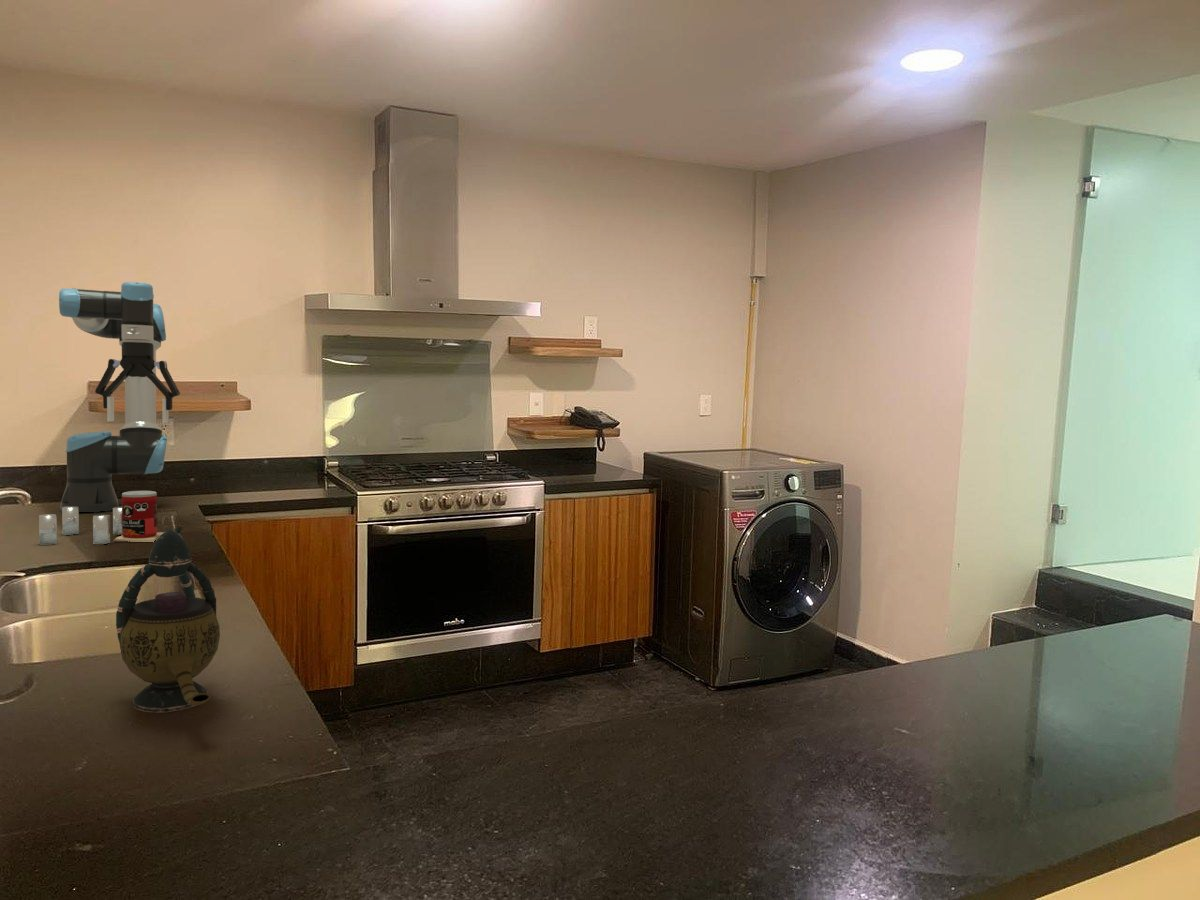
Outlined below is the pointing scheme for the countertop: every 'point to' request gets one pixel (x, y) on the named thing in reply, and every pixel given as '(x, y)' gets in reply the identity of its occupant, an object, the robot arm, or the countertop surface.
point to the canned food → (139, 514)
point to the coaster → (148, 539)
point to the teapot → (168, 630)
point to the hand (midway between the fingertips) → (138, 422)
